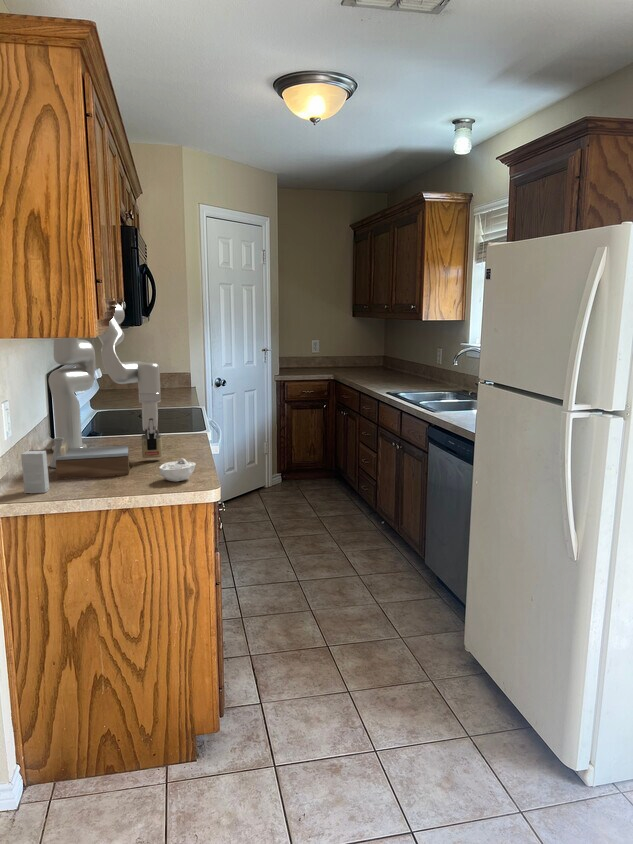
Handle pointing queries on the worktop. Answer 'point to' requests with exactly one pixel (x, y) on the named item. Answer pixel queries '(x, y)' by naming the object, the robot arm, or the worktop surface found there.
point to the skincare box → (35, 472)
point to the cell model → (177, 470)
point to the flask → (56, 451)
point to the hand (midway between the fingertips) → (151, 448)
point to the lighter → (151, 453)
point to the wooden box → (92, 467)
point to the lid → (91, 452)
